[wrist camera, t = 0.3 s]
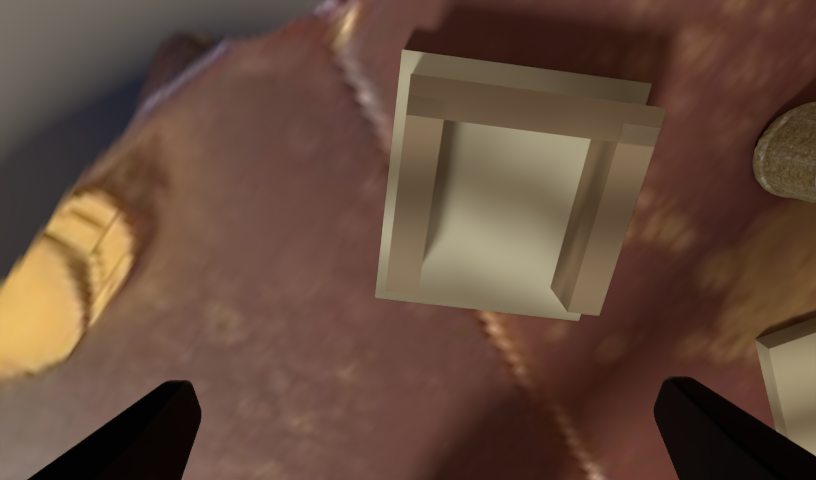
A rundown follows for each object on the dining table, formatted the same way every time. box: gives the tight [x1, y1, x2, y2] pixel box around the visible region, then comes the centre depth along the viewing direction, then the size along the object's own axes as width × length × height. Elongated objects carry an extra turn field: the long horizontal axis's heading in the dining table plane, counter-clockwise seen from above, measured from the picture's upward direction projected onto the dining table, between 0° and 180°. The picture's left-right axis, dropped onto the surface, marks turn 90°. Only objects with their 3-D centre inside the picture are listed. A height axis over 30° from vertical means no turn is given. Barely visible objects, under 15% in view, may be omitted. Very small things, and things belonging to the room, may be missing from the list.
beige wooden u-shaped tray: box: [375, 49, 667, 321], centre depth 19 cm, size 12×11×4 cm
